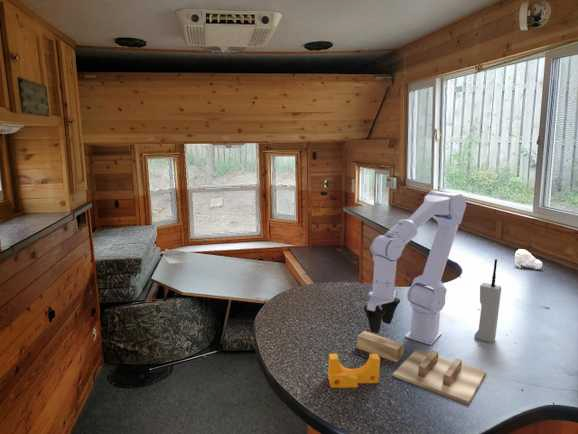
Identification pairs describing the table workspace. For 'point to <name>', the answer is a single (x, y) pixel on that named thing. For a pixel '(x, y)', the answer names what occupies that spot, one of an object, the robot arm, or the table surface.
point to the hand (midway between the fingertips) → (380, 327)
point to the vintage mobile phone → (489, 309)
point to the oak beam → (380, 346)
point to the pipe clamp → (353, 372)
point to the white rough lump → (526, 259)
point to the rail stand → (441, 375)
